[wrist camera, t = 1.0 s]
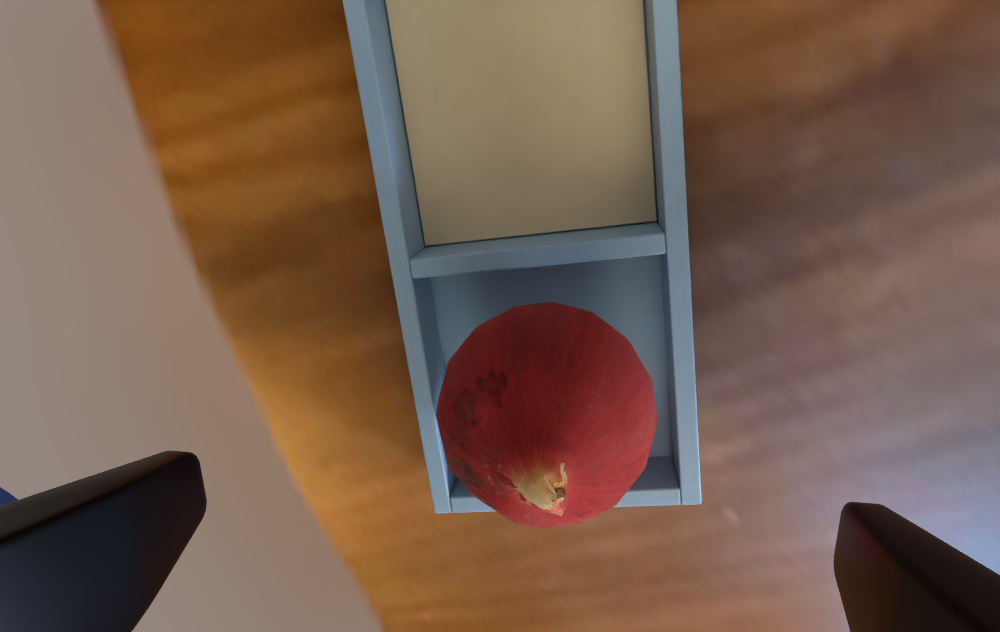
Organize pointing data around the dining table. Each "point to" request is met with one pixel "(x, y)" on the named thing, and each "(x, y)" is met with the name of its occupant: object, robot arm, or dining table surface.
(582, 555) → the dining table surface
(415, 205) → the divided blue tray
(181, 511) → the robot arm
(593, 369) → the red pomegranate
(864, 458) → the dining table surface
